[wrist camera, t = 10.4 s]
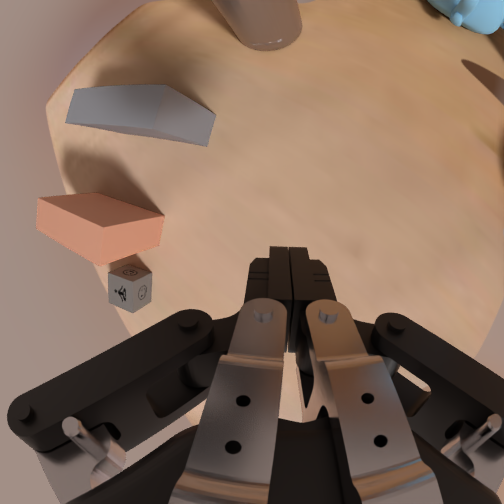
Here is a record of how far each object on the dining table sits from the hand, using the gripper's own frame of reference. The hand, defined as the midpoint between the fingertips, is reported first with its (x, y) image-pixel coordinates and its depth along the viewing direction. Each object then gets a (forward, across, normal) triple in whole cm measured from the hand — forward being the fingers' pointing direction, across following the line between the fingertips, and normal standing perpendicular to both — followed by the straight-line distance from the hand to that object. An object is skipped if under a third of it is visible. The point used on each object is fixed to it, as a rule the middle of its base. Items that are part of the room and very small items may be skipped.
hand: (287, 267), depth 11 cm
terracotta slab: (+26, -23, -7) cm, 36 cm away
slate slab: (+28, -16, +6) cm, 33 cm away
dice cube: (+23, -21, -18) cm, 36 cm away
